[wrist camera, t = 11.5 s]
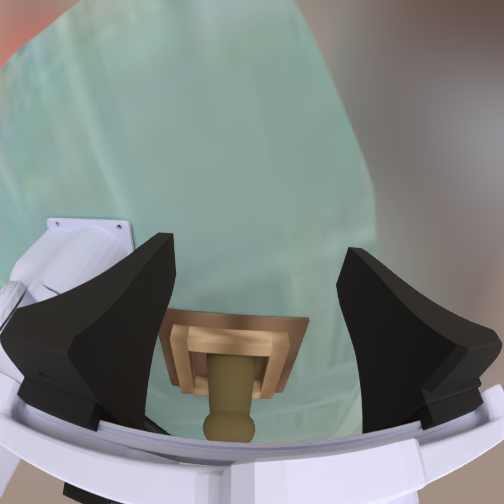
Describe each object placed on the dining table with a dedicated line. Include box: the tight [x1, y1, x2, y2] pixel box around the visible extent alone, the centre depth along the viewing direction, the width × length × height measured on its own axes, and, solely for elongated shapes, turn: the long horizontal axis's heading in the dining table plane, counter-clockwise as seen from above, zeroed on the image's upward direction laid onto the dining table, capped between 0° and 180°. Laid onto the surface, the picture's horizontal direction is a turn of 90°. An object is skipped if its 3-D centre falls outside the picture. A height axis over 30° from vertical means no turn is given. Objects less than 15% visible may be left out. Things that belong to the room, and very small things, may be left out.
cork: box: [203, 353, 257, 443], centre depth 26 cm, size 6×6×11 cm
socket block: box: [159, 309, 309, 399], centre depth 31 cm, size 16×16×2 cm
